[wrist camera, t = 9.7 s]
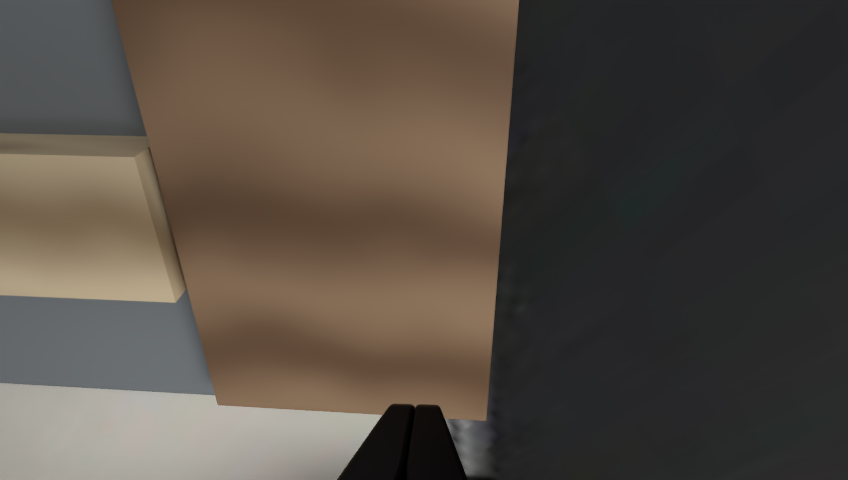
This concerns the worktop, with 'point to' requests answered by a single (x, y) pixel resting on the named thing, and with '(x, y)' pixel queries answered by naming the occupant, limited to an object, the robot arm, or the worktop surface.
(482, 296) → the walnut board
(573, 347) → the worktop surface
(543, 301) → the worktop surface
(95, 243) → the birch tile
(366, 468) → the robot arm
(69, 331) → the slate mat
